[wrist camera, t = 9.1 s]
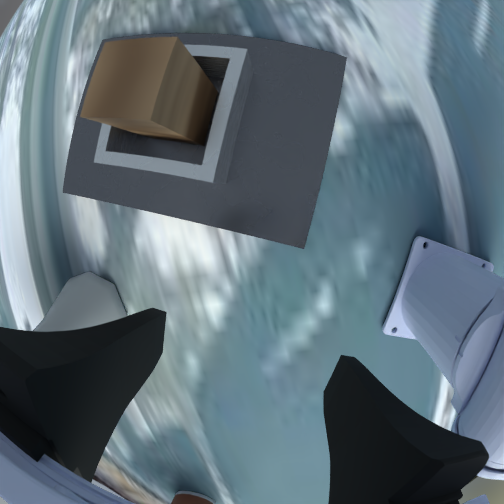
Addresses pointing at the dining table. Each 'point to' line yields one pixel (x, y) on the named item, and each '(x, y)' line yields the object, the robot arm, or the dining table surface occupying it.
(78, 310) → the flask
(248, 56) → the post socket base
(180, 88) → the walnut rail post
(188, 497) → the coffee cup
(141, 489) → the dining table surface
